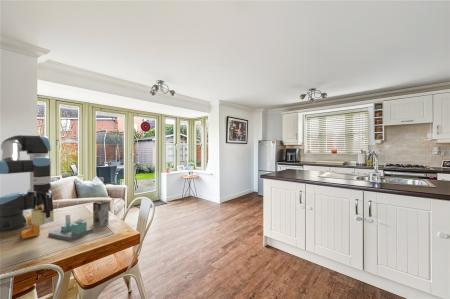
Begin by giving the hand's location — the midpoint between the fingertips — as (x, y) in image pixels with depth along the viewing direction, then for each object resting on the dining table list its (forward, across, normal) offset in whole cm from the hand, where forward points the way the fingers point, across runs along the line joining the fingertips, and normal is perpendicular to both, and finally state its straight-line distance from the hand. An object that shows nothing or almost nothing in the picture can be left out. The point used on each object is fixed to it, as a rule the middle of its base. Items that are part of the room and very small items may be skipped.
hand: (42, 222), depth 116 cm
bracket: (+13, -18, +4) cm, 23 cm away
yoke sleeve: (0, 0, 0) cm, 0 cm away
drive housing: (+12, +4, +14) cm, 19 cm away
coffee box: (+13, +8, +32) cm, 35 cm away
